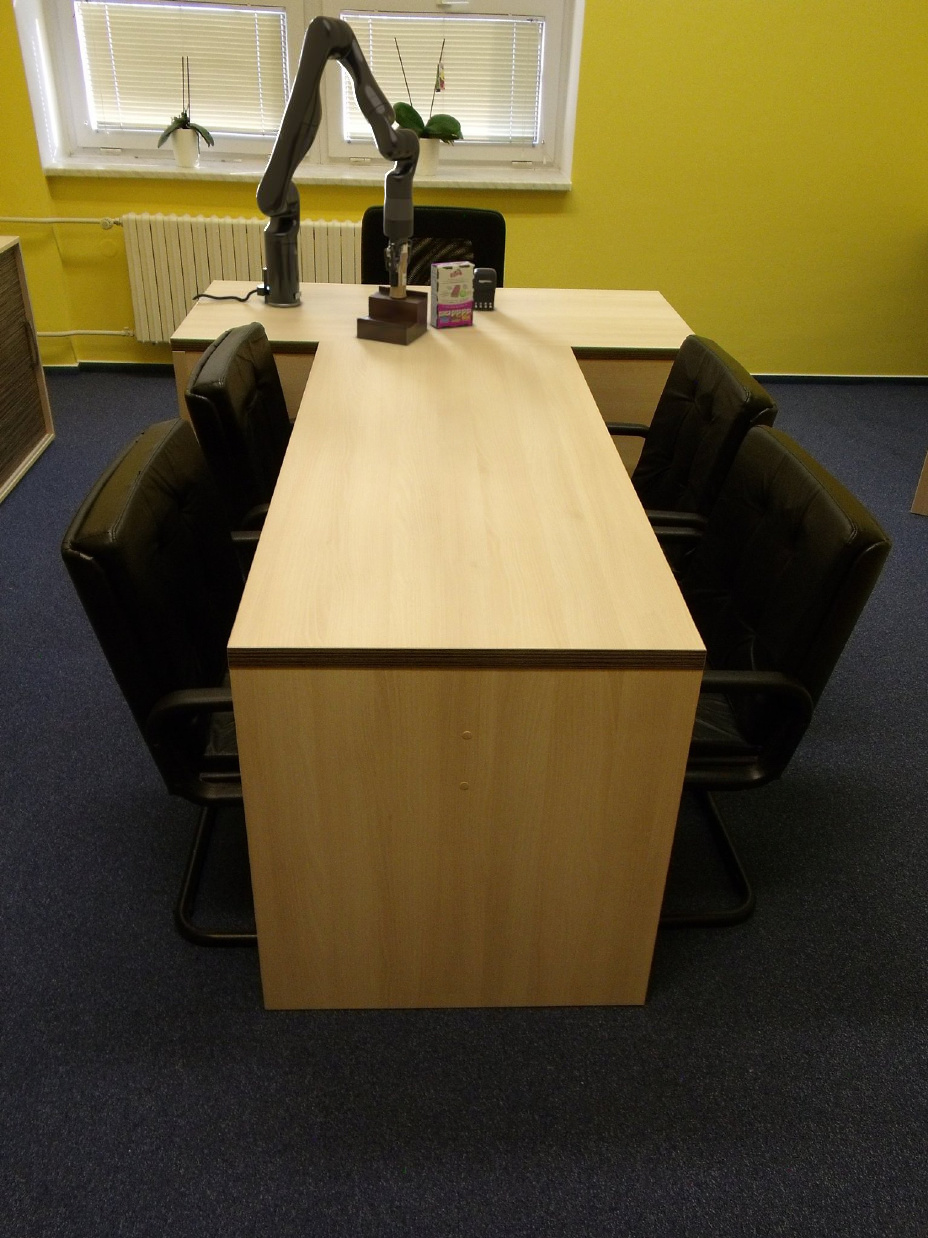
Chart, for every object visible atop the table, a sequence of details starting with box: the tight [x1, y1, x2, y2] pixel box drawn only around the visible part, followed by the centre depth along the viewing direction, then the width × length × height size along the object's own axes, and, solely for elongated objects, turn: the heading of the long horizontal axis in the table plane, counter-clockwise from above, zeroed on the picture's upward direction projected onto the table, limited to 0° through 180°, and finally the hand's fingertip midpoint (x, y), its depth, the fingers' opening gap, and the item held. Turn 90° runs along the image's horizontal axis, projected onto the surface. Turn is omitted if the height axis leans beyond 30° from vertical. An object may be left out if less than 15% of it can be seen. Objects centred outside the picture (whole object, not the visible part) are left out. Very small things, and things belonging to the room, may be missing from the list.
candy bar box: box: [429, 260, 476, 330], centre depth 275 cm, size 11×5×16 cm, turn 115°
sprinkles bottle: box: [389, 244, 407, 299], centre depth 265 cm, size 5×5×14 cm
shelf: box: [356, 285, 429, 346], centre depth 267 cm, size 14×15×10 cm
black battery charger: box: [473, 267, 498, 311], centre depth 291 cm, size 7×4×11 cm, turn 95°
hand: (397, 283), depth 266 cm, fingers closed on sprinkles bottle, 4 cm apart
